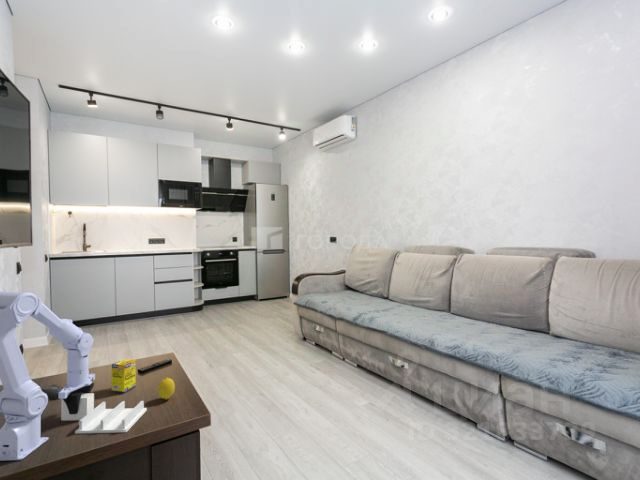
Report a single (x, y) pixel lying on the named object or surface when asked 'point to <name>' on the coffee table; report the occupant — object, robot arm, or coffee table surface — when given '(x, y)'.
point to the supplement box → (123, 376)
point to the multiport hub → (52, 391)
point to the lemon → (166, 388)
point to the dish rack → (110, 419)
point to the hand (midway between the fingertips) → (77, 410)
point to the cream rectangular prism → (84, 407)
